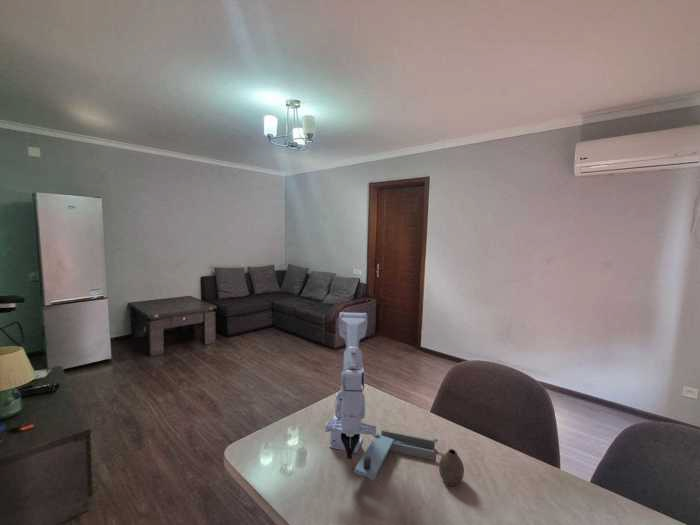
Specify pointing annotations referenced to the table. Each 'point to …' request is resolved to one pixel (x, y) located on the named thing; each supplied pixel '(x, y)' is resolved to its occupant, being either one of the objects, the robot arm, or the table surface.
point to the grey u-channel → (411, 445)
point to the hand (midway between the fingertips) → (349, 456)
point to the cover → (374, 456)
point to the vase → (451, 468)
